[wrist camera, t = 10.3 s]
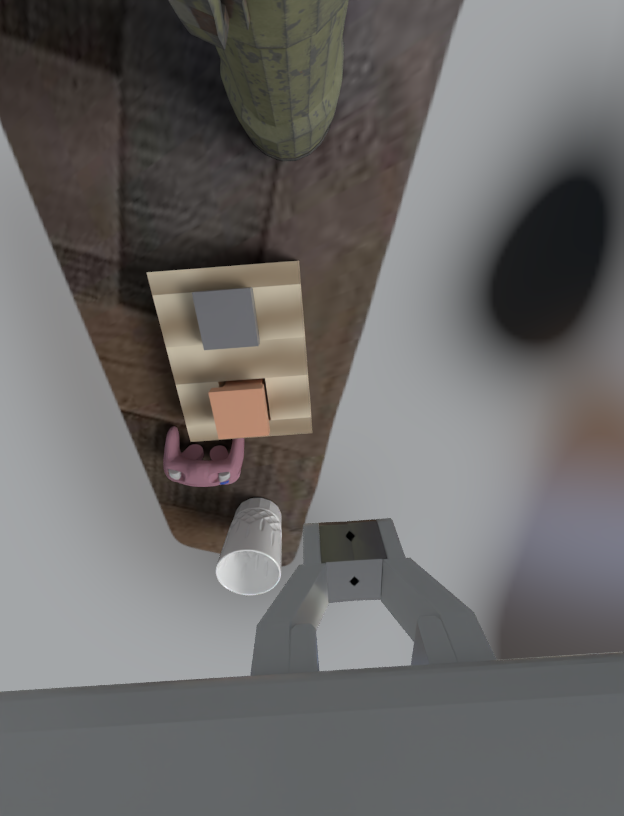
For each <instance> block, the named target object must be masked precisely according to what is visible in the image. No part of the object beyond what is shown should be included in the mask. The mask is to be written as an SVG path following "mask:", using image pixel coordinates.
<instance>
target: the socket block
mask: <svg viewBox="0 0 624 816" xmlns="http://www.w3.org/2000/svg"><path fill="white" fill-rule="evenodd" d="M146 273H147V277H148V280H149V284H150V288H151V292H152V296H153V300H154V303H155V307H156V311H157V315H158V319H159V323H160V326H161V330H162V334H163V338H164V342H165V346H166V349H167V353H168V357H169V361H170V365H171V369H172V372H173V376H174V380H175V384H176V388H177V392H178V395H179V399H180V403H181V407H182V411H183V415H184V418H185V422H186V426H187V430H188V434H189V437H190V441H191V442H196V441H210V440H223V439H218V434H217V430H216V425H215V421H214V416H213V411H212V407H211V402H210V398H209V393H208V392H209V391H210V390H211V388H219V387H223V386H224V384H225V383H226V381H233V380H246V379H259V378H265V381H266V388H267V396H268V403H269V406H268V410H267V412H268V419H269V426H270V433H269V436H277V435H291V434H305V433H312V420H311V406H310V393H309V380H308V368H307V355H306V343H305V330H304V317H303V305H302V292H301V280H300V267H299V261H288V262H275V263H262V264H249V265H236V266H223V267H210V268H197V269H185V270H172V271H159V272H146ZM247 287H252V288H253V294H254V301H255V309H256V316H257V323H258V330H259V331H258V333H259V340H260V344H259V346H254V347H240V348H227V349H214V350H204V348H203V343H202V339H201V334H200V329H199V325H198V320H197V315H196V310H195V306H194V301H193V296H192V292H195V291H208V290H221V289H234V288H247ZM258 437H264V436H258ZM244 438H250V437H244ZM230 439H237V438H230Z"/></svg>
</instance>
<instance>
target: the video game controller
mask: <svg viewBox="0 0 624 816" xmlns="http://www.w3.org/2000/svg"><path fill="white" fill-rule="evenodd" d="M203 457H204V452H203V448H202V447H201V446H200V445H197V444H193V445H190V446H189V447H188V448H187V449H186V450H185V451H184V452H183V453H181V451H180V446H179V432H178V429H177V427H175V426H173V427H171V428H170V429H169V431H168V433H167V436H166V442H165V450H164V472H165V474H166V476H167V477H168V478H169V479H170V480H172V481H175V482H178V483H181V484H184V485H189V486H196V487H209V486H216V485H221V484H231V483H233V482H235V481H236V480H237V479H238V478H239V476H240V473H241V466H242V462H243V457H244V438H237V439H233V442H232V447H231V451H230V453H229V454H228V452H227V449H226V448H225V447H224V446H215V447H213V448H212V449H211V450H210V458H211V461H206V460H202V459H203Z"/></svg>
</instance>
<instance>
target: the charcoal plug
mask: <svg viewBox="0 0 624 816" xmlns="http://www.w3.org/2000/svg"><path fill="white" fill-rule="evenodd" d="M192 296H193V301H194V306H195V310H196V315H197V320H198V325H199V329H200V334H201V339H202V343H203V348H204V350H214V349H227V348H240V347H254V346H259V344H260V340H259V333H258V323H257V316H256V309H255V301H254V294H253V289H252V287H247V288H234V289H221V290H208V291H195V292H192Z"/></svg>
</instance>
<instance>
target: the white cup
mask: <svg viewBox="0 0 624 816" xmlns="http://www.w3.org/2000/svg"><path fill="white" fill-rule="evenodd" d="M281 553H282V531H281V512H280V510H279V508H278V506H277V505H275V504H274V503H273V502H272V501H270V500H267V499H264V498H250V499H248V500H246V501H244V502H242V503H241V504H240V506H239V507H238V508H237V510H236V513H235V516H234V519H233V521H232V523H231V525H230V528H229V531H228V534H227V536H226V539H225V542H224V545H223V548H222V551H221V554H220V557H219V560H218V563H217V566H216V577H217V579H218V581H219V582H220V583H221V584H222V585H223V586H224V587H225V588H226V589H228V590H230V591H232V592H234V593H237V594H242V595H257V594H262V593H265V592H267V591H269V590H271V589H272V588H274V587H275V586H276V585H277V584H278V582H279V580H280V577H281Z"/></svg>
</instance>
